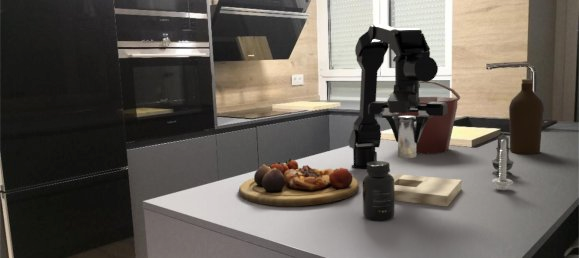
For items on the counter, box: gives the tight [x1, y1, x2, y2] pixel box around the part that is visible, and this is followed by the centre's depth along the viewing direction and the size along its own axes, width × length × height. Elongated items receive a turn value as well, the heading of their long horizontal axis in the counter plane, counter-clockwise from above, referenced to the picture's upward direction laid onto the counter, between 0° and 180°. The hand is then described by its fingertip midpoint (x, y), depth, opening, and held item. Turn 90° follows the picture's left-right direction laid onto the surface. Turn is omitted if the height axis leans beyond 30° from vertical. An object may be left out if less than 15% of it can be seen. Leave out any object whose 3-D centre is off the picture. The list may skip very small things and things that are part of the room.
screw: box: [491, 139, 514, 192], centre depth 124 cm, size 13×5×5 cm
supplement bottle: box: [362, 160, 396, 222], centre depth 106 cm, size 7×7×12 cm
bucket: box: [389, 80, 461, 155], centre depth 179 cm, size 24×22×25 cm
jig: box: [390, 173, 462, 207], centre depth 123 cm, size 18×16×2 cm
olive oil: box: [508, 78, 545, 155], centre depth 168 cm, size 11×11×25 cm
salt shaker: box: [491, 132, 515, 177], centre depth 139 cm, size 6×6×12 cm
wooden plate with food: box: [238, 158, 360, 207], centre depth 131 cm, size 32×32×8 cm
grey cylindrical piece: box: [397, 116, 417, 159], centre depth 123 cm, size 5×5×10 cm
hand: (407, 142), depth 123 cm, fingers closed on grey cylindrical piece, 4 cm apart
